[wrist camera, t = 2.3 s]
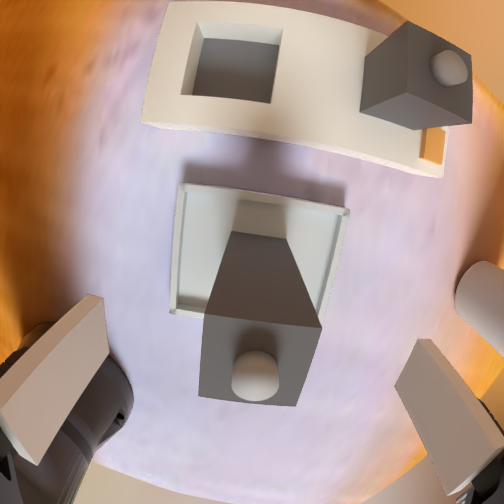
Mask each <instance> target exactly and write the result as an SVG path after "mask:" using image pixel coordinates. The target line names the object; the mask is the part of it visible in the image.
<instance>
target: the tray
mask: <svg viewBox="0 0 504 504" xmlns="http://www.w3.org/2000/svg"><path fill="white" fill-rule="evenodd" d="M349 214H350V210H349V209H347V208H345V207H342V206H337V205H332V204H327V203H321V202H316V201H311V200H305V199H299V198H293V197H288V196H282V195H275V194H269V193H263V192H256V191H249V190H243V189H235V188H228V187H221V186H213V185H205V184H197V183H188V182H182V183H178V191H177V201H176V211H175V222H174V234H173V248H172V264H171V283H170V313H172V314H177V315H183V316H189V317H195V318H201V319H204V313H205V310H206V306H207V303H208V300H209V297H210V294H211V291H212V288H213V285H214V282H215V279H216V275H217V272H218V269H219V266H220V263H221V260H222V257H223V254H224V251H225V248H226V245H227V242H228V239H229V236H230V233H231V231H236V232H243V233H249V234H256V235H263V236H270V237H276V238H283V239H287V242H288V244H289V247H290V249H291V251H292V254H293V256H294V259H295V261H296V263H297V266H298V268H299V271H300V273H301V276H302V278H303V281H304V283H305V286H306V288H307V291H308V293H309V296H310V298H311V301H312V303H313V306H314V308H315V311H316V313H317V316H318V318H319V321H320V324H321V325H322V322H323V319H324V315H325V312H326V308H327V305H328V301H329V297H330V294H331V290H332V286H333V283H334V279H335V275H336V271H337V267H338V263H339V259H340V255H341V250H342V246H343V242H344V237H345V233H346V228H347V224H348V219H349Z"/></svg>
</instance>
